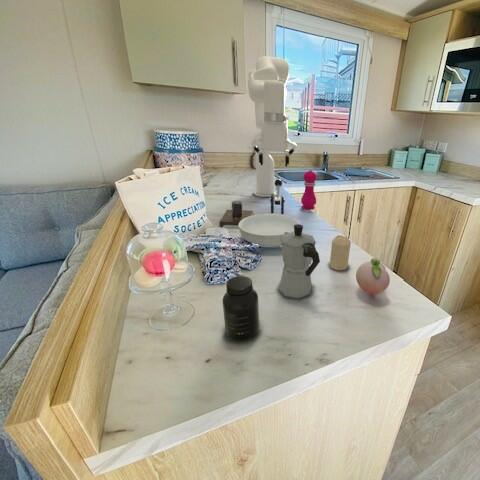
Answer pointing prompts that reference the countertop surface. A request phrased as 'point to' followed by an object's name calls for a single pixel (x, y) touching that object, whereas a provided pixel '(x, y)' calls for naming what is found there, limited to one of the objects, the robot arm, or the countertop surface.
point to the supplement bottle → (240, 309)
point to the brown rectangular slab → (231, 220)
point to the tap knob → (237, 209)
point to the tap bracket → (273, 204)
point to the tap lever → (277, 198)
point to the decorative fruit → (372, 277)
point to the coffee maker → (297, 263)
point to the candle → (340, 253)
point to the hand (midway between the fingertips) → (274, 165)
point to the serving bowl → (266, 228)
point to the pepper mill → (309, 190)
